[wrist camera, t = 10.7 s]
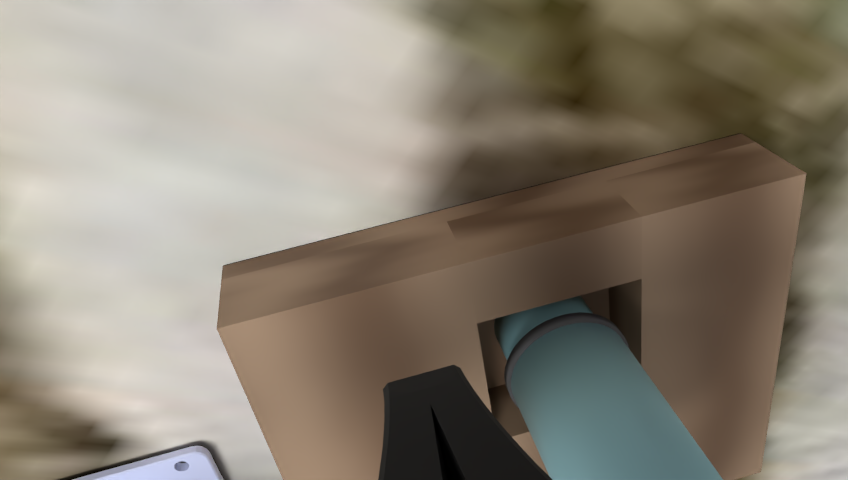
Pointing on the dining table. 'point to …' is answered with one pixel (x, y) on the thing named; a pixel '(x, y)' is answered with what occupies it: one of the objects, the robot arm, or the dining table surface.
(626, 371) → the peg
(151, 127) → the dining table surface
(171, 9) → the dining table surface
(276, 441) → the board
